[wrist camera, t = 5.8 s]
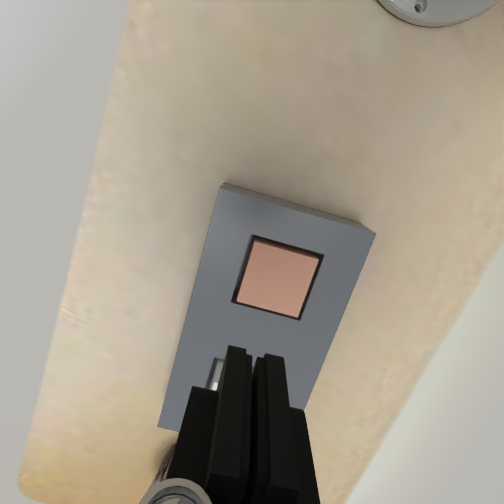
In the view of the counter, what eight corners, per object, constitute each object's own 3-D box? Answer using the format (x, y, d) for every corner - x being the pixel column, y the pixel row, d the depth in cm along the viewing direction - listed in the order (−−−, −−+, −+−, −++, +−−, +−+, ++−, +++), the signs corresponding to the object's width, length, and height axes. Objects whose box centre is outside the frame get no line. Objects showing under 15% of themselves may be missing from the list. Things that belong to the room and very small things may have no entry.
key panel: (223, 182, 28) (219, 187, 24) (359, 222, 29) (376, 233, 25) (168, 395, 34) (157, 426, 30) (281, 422, 35) (285, 456, 31)
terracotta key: (254, 232, 27) (254, 241, 25) (312, 248, 28) (318, 259, 25) (238, 286, 29) (236, 301, 26) (293, 301, 29) (297, 317, 26)
